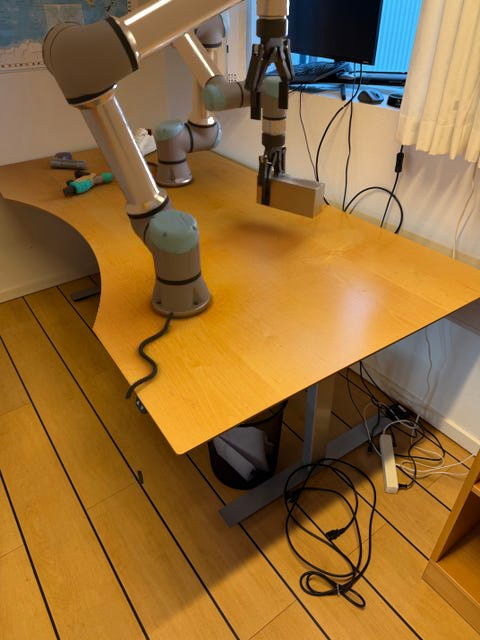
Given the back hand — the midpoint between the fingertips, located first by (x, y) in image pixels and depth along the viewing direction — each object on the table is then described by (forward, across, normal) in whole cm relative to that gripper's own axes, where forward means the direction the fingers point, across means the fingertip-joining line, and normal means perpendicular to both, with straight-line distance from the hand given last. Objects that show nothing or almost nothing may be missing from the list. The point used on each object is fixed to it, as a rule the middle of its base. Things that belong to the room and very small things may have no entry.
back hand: (270, 201), depth 163 cm
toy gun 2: (+8, +15, -82) cm, 83 cm away
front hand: (-34, +21, +11) cm, 42 cm away
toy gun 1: (+9, -2, -108) cm, 108 cm away
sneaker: (+9, -27, -91) cm, 95 cm away
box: (0, 0, +7) cm, 7 cm away
